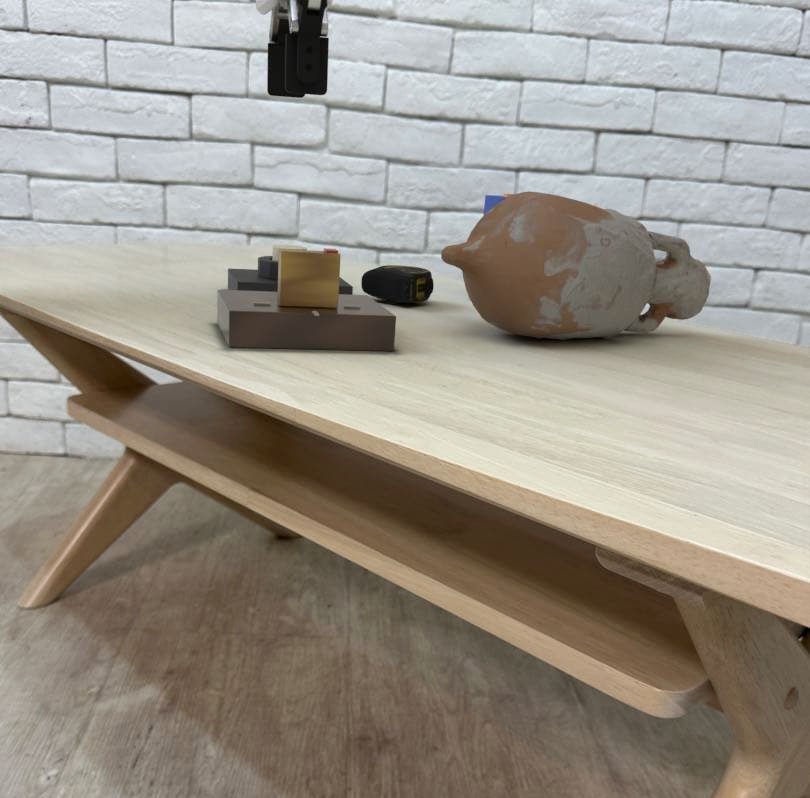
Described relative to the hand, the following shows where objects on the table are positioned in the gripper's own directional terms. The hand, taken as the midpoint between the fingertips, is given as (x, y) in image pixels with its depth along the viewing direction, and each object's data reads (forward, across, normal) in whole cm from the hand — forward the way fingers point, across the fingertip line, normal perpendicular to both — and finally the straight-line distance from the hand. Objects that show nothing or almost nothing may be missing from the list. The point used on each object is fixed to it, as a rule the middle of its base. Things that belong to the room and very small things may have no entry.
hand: (295, 95), depth 81 cm
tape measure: (+20, -20, +15) cm, 32 cm away
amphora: (+20, -3, +28) cm, 35 cm away
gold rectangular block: (+16, +2, +1) cm, 17 cm away
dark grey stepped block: (+19, -21, +3) cm, 29 cm away
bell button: (+16, -21, +3) cm, 27 cm away
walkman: (+20, -27, +30) cm, 45 cm away
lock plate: (+20, 0, +1) cm, 20 cm away
